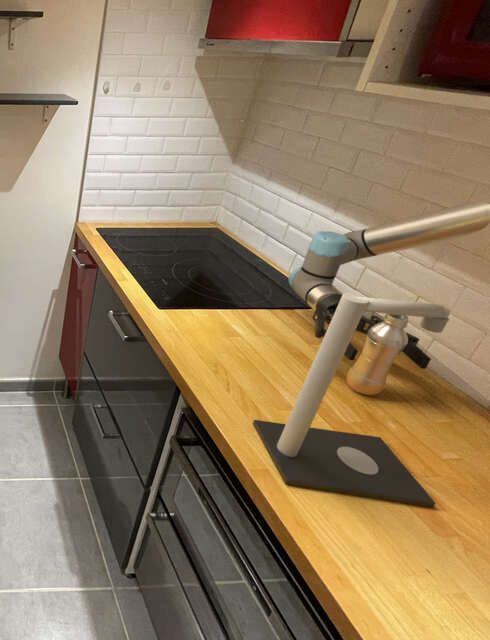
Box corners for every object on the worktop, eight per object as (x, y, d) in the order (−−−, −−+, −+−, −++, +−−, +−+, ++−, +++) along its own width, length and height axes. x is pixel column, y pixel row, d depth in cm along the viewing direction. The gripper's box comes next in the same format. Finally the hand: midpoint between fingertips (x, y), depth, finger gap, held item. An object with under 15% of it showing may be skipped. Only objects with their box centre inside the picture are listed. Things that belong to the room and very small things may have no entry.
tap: (377, 441, 89) (464, 288, 74) (432, 507, 76) (550, 339, 61) (252, 423, 92) (311, 274, 78) (285, 484, 80) (362, 320, 65)
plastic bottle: (336, 383, 103) (370, 311, 95) (354, 376, 106) (389, 305, 98) (368, 402, 98) (407, 327, 90) (386, 394, 100) (426, 320, 92)
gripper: (381, 324, 113) (448, 381, 94) (274, 312, 117) (318, 365, 98) (393, 298, 110) (466, 352, 91) (283, 288, 114) (330, 337, 95)
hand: (389, 359), depth 95 cm, fingers open, 13 cm apart
